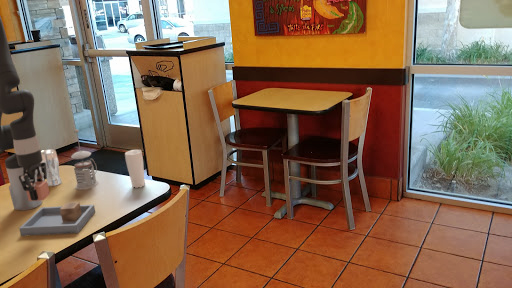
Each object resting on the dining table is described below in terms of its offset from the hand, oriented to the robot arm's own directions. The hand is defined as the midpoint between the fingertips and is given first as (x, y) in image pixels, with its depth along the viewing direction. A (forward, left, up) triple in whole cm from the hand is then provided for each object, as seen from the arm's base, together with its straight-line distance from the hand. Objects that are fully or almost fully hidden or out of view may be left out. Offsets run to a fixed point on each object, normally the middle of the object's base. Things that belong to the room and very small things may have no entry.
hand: (38, 196), depth 158 cm
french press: (+1, +37, -12) cm, 39 cm away
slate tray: (+4, +2, -12) cm, 13 cm away
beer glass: (-16, +41, -12) cm, 46 cm away
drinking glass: (+24, +33, -12) cm, 43 cm away
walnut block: (+8, +4, -11) cm, 14 cm away
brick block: (0, 0, 0) cm, 0 cm away
